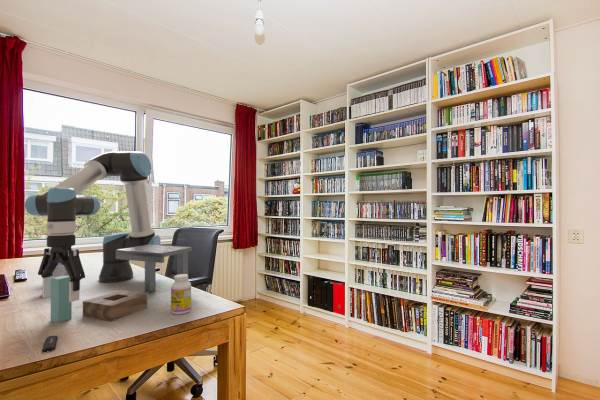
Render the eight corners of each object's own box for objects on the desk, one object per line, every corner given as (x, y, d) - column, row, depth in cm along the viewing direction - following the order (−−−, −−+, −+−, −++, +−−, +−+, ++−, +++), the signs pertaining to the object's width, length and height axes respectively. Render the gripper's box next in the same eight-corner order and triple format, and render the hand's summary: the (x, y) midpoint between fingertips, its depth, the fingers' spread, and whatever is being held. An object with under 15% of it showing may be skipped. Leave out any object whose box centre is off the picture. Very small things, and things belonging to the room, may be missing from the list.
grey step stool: (115, 300, 122) (115, 249, 122) (148, 289, 136) (148, 244, 137) (161, 307, 113) (161, 253, 113) (191, 295, 128) (191, 247, 128)
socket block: (82, 315, 105) (82, 301, 105) (120, 303, 118) (120, 290, 118) (111, 321, 100) (111, 305, 100) (147, 307, 113) (147, 293, 113)
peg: (50, 321, 100) (50, 278, 100) (63, 316, 104) (63, 275, 104) (58, 322, 99) (58, 279, 99) (71, 318, 102) (71, 276, 103)
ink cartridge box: (61, 287, 140) (61, 256, 140) (72, 288, 139) (72, 256, 140) (41, 294, 130) (41, 260, 130) (53, 294, 130) (53, 260, 130)
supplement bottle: (166, 313, 107) (166, 276, 107) (182, 307, 113) (182, 272, 113) (180, 316, 104) (180, 278, 104) (195, 310, 110) (195, 274, 110)
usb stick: (54, 352, 80) (54, 346, 80) (41, 355, 78) (41, 349, 78) (58, 339, 88) (57, 333, 88) (46, 341, 86) (46, 335, 86)
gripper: (25, 234, 103) (24, 297, 102) (74, 236, 94) (73, 306, 93) (50, 232, 110) (49, 291, 109) (98, 234, 101) (97, 299, 100)
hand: (60, 298), depth 101 cm, fingers open, 13 cm apart
